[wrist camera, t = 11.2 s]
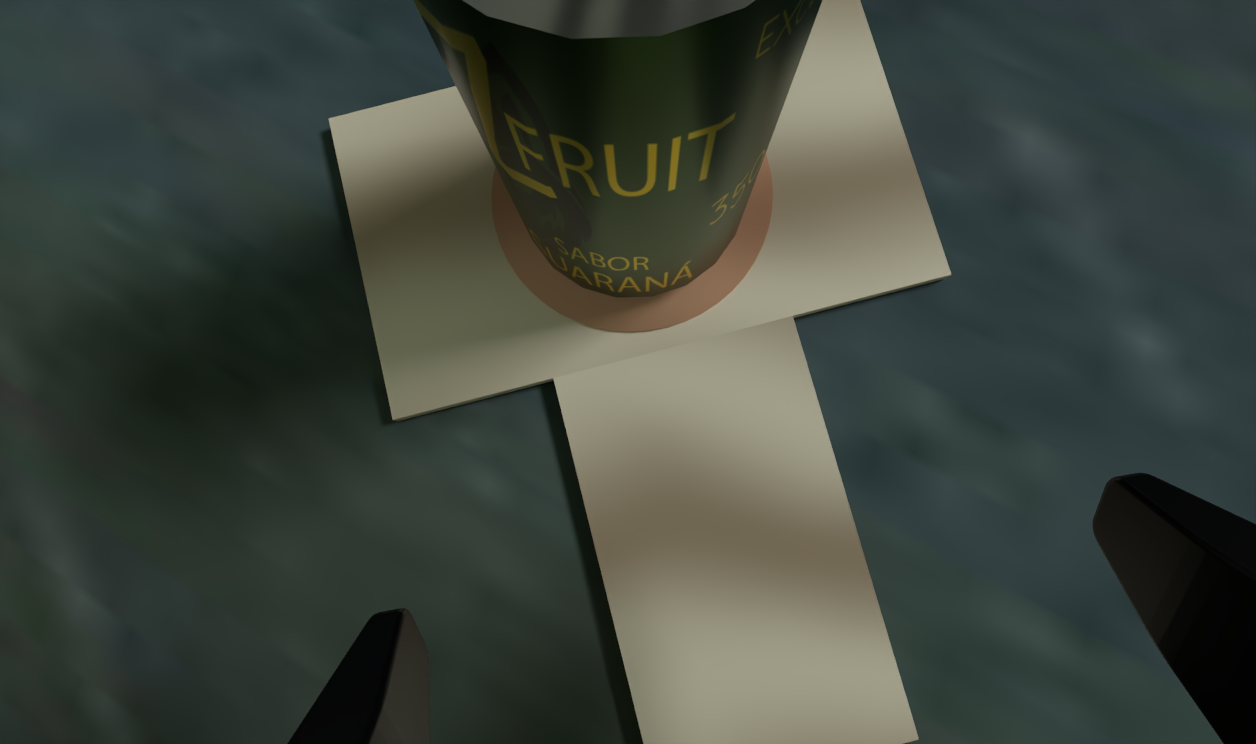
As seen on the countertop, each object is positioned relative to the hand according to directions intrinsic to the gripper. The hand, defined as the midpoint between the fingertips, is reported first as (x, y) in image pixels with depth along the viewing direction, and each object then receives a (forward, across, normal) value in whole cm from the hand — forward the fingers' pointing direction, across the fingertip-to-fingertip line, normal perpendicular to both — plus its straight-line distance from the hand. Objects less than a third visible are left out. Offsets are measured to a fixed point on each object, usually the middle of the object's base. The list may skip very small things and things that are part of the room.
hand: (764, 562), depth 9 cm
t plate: (+9, 0, +3) cm, 9 cm away
